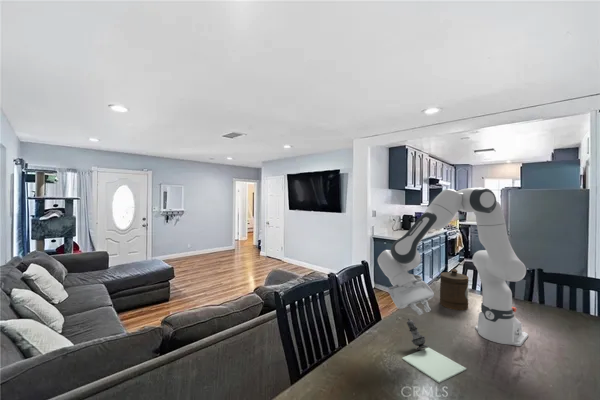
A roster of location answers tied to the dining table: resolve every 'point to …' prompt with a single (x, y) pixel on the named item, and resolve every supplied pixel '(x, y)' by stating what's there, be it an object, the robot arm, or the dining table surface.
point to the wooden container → (454, 290)
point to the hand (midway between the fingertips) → (425, 312)
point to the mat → (434, 364)
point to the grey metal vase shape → (416, 335)
